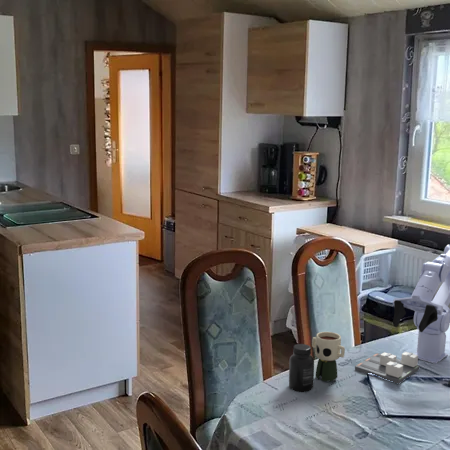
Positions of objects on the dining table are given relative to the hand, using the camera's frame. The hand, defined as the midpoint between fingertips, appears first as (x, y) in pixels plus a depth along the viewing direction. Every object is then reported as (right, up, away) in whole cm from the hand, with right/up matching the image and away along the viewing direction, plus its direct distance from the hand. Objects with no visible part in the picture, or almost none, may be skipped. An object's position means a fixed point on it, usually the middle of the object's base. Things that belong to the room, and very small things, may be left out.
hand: (407, 327), depth 175 cm
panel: (-3, -14, +9) cm, 17 cm away
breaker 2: (+3, -13, +10) cm, 16 cm away
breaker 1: (-3, -14, +2) cm, 14 cm away
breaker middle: (-3, -13, +9) cm, 16 cm away
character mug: (-23, -15, +2) cm, 28 cm away
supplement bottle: (-31, -16, -4) cm, 35 cm away
